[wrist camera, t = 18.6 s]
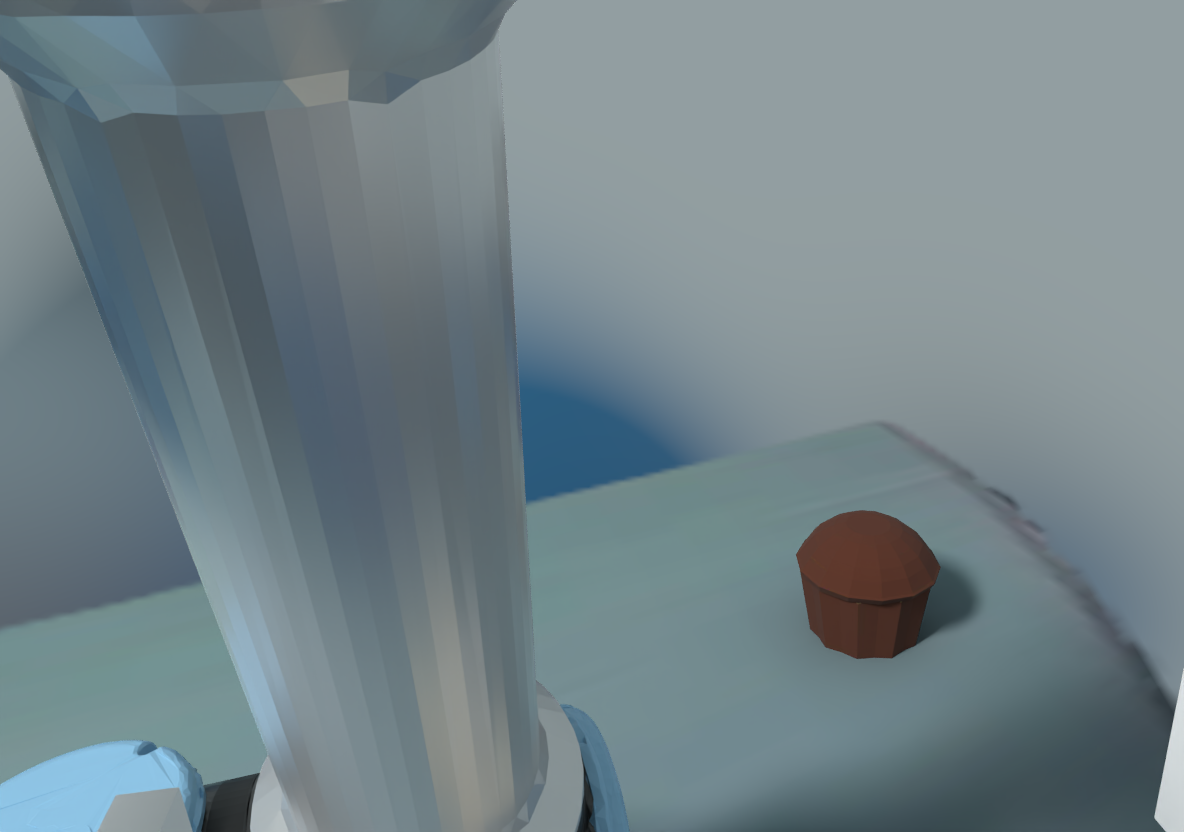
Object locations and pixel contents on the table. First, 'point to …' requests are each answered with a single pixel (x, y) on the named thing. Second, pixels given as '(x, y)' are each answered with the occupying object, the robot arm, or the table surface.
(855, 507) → the table surface
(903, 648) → the muffin
